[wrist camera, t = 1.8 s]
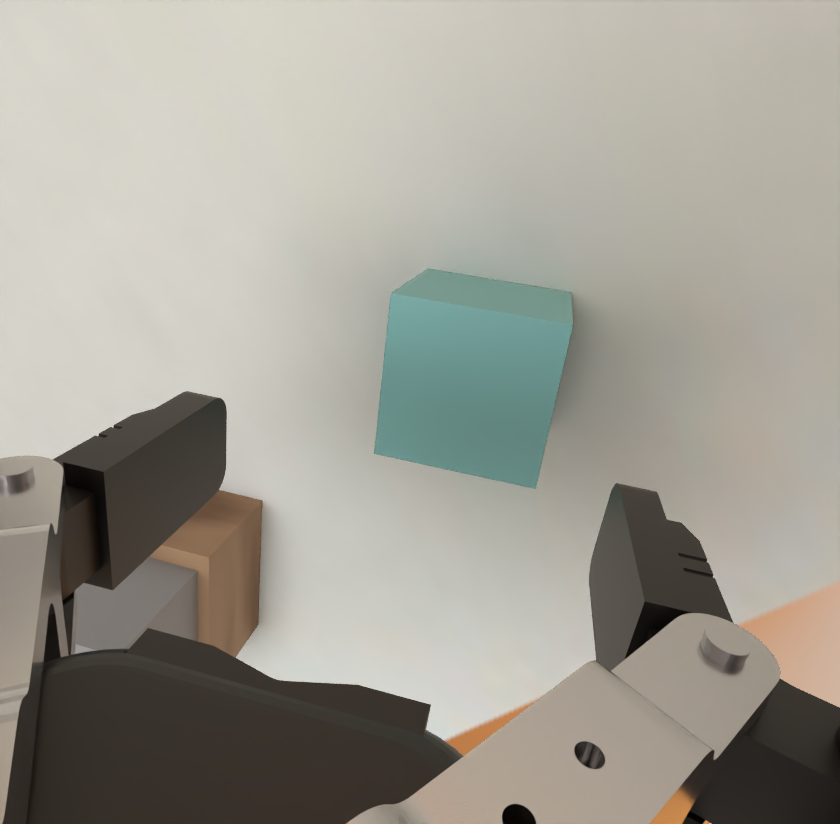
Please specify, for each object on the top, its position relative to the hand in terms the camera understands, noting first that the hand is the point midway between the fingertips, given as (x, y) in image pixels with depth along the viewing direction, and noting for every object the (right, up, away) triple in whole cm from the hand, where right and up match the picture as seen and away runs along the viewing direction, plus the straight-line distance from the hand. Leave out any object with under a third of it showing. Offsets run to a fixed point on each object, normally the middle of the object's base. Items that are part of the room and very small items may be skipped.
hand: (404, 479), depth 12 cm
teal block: (+3, +4, +10) cm, 11 cm away
